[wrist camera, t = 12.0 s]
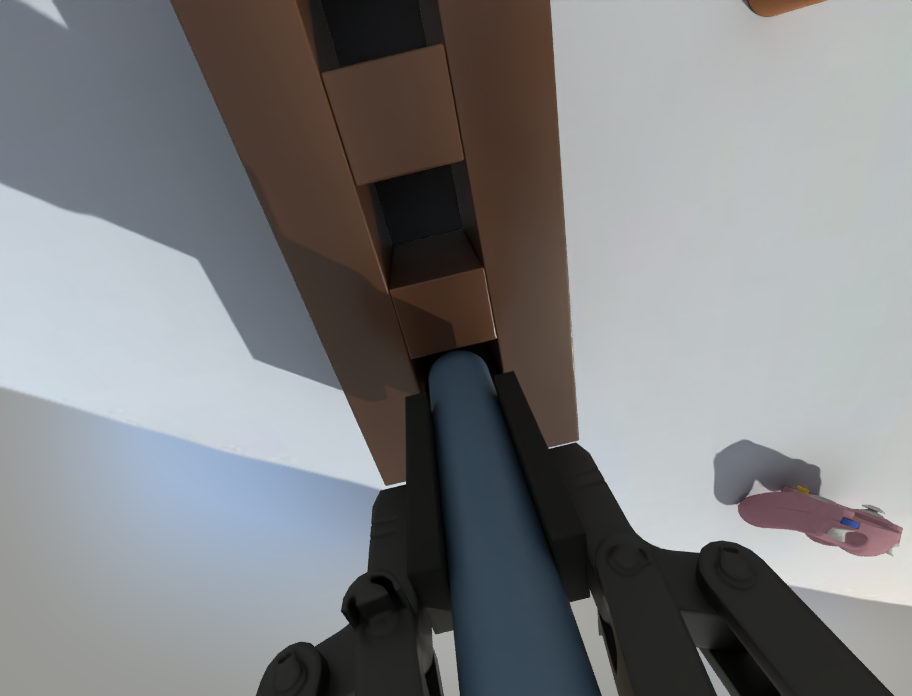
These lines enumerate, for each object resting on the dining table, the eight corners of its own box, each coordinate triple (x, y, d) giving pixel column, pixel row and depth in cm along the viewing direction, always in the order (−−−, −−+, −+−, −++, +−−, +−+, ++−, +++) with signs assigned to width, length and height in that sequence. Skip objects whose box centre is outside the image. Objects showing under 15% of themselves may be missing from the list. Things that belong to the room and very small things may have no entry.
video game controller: (820, 487, 36) (932, 526, 29) (805, 536, 35) (914, 586, 29) (745, 462, 33) (850, 499, 26) (728, 515, 33) (829, 566, 26)
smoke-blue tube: (444, 337, 16) (573, 1003, 4) (502, 362, 17) (752, 961, 5) (415, 389, 17) (444, 1035, 5) (470, 409, 18) (611, 998, 6)
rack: (474, -199, 13) (523, -423, 7) (541, 372, 24) (579, 440, 19) (186, -127, 13) (35, -299, 7) (389, 408, 24) (385, 486, 19)
